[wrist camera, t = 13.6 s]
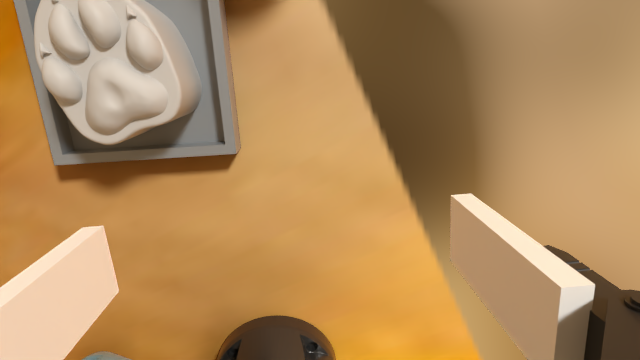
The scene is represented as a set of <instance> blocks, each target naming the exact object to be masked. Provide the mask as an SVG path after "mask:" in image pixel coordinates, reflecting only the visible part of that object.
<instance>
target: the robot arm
mask: <svg viewBox="0 0 640 360" xmlns="http://www.w3.org/2000/svg"><path fill="white" fill-rule="evenodd" d="M450 228H451V229H450V261H451V263H452V264H453V265H454V266H455V268H456V269H457V270H458V272H459V273H460V274H461V275H462V277H463V278H464V279H465V281H466V282H467V283H468V284H469V286H470V287H471V288H472V290H473V291H474V292H475V293H476V295H477V296H478V297H479V298H480V300H481V301H482V302H483V304H484V305H485V306H486V307H487V309H488V310H489V311H490V313H491V314H492V315H493V316H494V317H495V319H496V320H497V322H498V323H499V324H500V325H501V327H502V328H503V329H504V330H505V332H506V333H507V334H508V336H509V337H510V338H511V339H512V341H513V342H514V343H515V345H516V346H517V347H518V348H519V349H520V351H521V352H522V353H523V355H524V356H525V357H526V358H527V360H640V291H635V290H621V289H619V288H618V287H616V286H615V285H613V284H612V283H610V282H609V281H607V280H606V279H604V278H603V277H602V276H600V275H599V274H597V273H596V272H594V271H593V270H590V269H589V268H588V267H587V266H585V265H584V264H583V263H579V261H578V260H577V259H575V258H574V257H573V256H571V255H570V254H568V253H566V252H564V251H562V250H559V249H557V248H554V247H552V246H549V245H547V246H542V245H540V244H539V243H538V242H536V241H535V240H533V239H532V238H531V237H529V236H528V235H527V234H525V233H524V232H523V231H521V230H520V229H519V228H517V227H516V226H514V225H513V224H512V223H510V222H509V221H508V220H506V219H505V218H503V217H502V216H501V215H499V214H498V213H497V212H495V211H494V210H493V209H491V208H490V207H488V206H487V205H486V204H484V203H483V202H482V201H480V200H479V199H477V198H476V197H475V196H473V195H472V194H461V195H451V226H450ZM118 292H119V288H118V284H117V280H116V276H115V272H114V268H113V263H112V259H111V255H110V251H109V247H108V243H107V239H106V234H105V230H104V226H94V227H83V228H81V229H80V230H78V231H77V232H76V233H74V234H73V235H72V236H70V237H69V238H68V239H66V240H65V241H63V242H62V243H61V244H59V245H58V246H57V247H55V248H54V249H52V250H51V251H50V252H48V253H47V254H46V255H44V256H43V257H42V258H40V259H39V260H37V261H36V262H35V263H33V264H32V265H31V266H29V267H28V268H26V269H25V270H24V271H22V272H21V273H20V274H18V275H17V276H16V277H14V278H13V279H11V280H10V281H9V282H7V283H6V284H5V285H3V286H2V287H0V360H63V359H64V358H65V357H66V356H67V354H68V353H69V352H70V351H71V350H72V348H73V347H74V346H75V345H76V343H77V342H78V341H79V340H80V338H81V337H82V336H83V335H84V334H85V332H86V331H87V330H88V329H89V327H90V326H91V325H92V324H93V322H94V321H95V320H96V319H97V318H98V316H99V315H100V314H101V313H102V311H103V310H104V309H105V308H106V306H107V305H108V304H109V303H110V302H111V300H112V299H113V298H114V297H115V295H116V294H117V293H118ZM82 360H131V359H128V358H126V357H123V356H120V355H117V354H115V353H112V352H107V351H101V352H96V353H93V354H91V355H88V356H87V357H85V358H83V359H82ZM217 360H336V358H335V353H334V350H333V348H332V346H331V344H330V342H329V341H328V339H327V338H326V337H325V335H324V334H323V333H322V332H321V331H319V330H318V329H317V328H316V327H314V326H313V325H311V324H309V323H307V322H305V321H303V320H300V319H297V318H293V317H287V316H267V317H261V318H258V319H254V320H252V321H249V322H247V323H245V324H243V325H242V326H240V327H238V328H237V329H236V330H235V331H233V332H232V333H231V334H230V335H229V336H228V338H227V339H226V340H225V342H224V343H223V345H222V347H221V349H220V352H219V355H218V358H217Z"/></svg>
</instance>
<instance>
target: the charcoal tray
mask: <svg viewBox="0 0 640 360" xmlns="http://www.w3.org/2000/svg"><path fill="white" fill-rule="evenodd" d="M40 1H41V0H14V4H15V8H16V12H17V16H18V20H19V24H20V28H21V32H22V36H23V40H24V44H25V48H26V52H27V56H28V60H29V64H30V68H31V73H32V77H33V81H34V85H35V89H36V93H37V97H38V101H39V105H40V109H41V113H42V117H43V121H44V125H45V129H46V133H47V137H48V141H49V145H50V149H51V153H52V157H53V161H54V165H68V164H83V163H99V162H115V161H131V160H147V159H162V158H178V157H194V156H210V155H226V154H237V152H238V151H239V150H240V148H241V145H240V136H239V127H238V118H237V110H236V101H235V92H234V83H233V74H232V65H231V56H230V47H229V38H228V29H227V20H226V11H225V3H224V0H145V1H146V2H148V3H150V4H151V5H153V6H154V7H155V8H157V9H158V10H159V11H161V12H162V13H163V14H164V15H166V16H167V17H168V18H169V19H170V20H171V21H172V22H173V23H174V24H175V26H176V27H177V29H178V30H179V32H180V34H181V36H182V37H183V39H184V41H185V43H186V45H187V47H188V49H189V51H190V53H191V56H192V58H193V61H194V63H195V66H196V69H197V71H198V74H199V77H200V81H201V86H202V94H201V99H200V102H199V105H198V106H197V108H196V109H195V110H194V111H193V112H191V113H189V114H187V115H185V116H182V117H180V118H178V119H175V120H173V121H171V122H168V123H166V124H163V125H160V126H156V127H155V128H153V129H151V130H149V131H147V132H145V133H142V134H140V135H137V136H135V137H133V138H130V139H128V140H125V141H123V142H121V143H118V144H114V145H105V144H100V143H97V142H94V141H92V140H90V139H88V138H86V137H85V136H83V135H82V134H81V133H80V132H79V131H78V130H77V129H76V128H75V127H74V125H73V124H72V123H71V121H70V120H69V118H68V117H67V116H66V114H65V112H64V111H63V109H62V108H61V107H60V106H59V104H58V103H57V101H56V99H55V98H54V96H53V95H52V94H51V93H50V92H49V91H48V89H47V88H46V86H45V84H44V82H43V78H42V72H41V70H40V68H39V66H38V63H37V60H36V55H35V44H34V22H35V16H36V12H37V9H38V6H39V4H40Z"/></svg>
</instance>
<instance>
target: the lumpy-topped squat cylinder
mask: <svg viewBox="0 0 640 360" xmlns="http://www.w3.org/2000/svg"><path fill="white" fill-rule="evenodd" d="M34 44H35V55H36V60H37V63H38V66H39V68H40V70H41V72H42V78H43V82H44V84H45V86H46V88H47V89H48V91H49V92H50V93H51V94H52V95H53V96H54V98H55V99H56V101H57V103H58V104H59V106H60V107H61V108H62V109H63V111H64V112H65V114H66V116H67V117H68V118H69V120H70V121H71V123H72V124H73V125H74V127H75V128H76V129H77V130H78V131H79V132H80V133H81V134H82V135H83V136H85V137H86V138H88V139H90V140H92V141H94V142H97V143H100V144H105V145H114V144H118V143H121V142H123V141H125V140H128V139H130V138H133V137H135V136H137V135H140V134H142V133H145V132H147V131H149V130H151V129H153V128H155V127H156V126H160V125H163V124H166V123H168V122H171V121H173V120H175V119H178V118H180V117H182V116H185V115H187V114H189V113H191V112H193V111H194V110H195V109H196V108H197V106H198V105H199V102H200V99H201V94H202V86H201V81H200V77H199V74H198V71H197V69H196V66H195V63H194V61H193V58H192V56H191V53H190V51H189V49H188V47H187V45H186V43H185V41H184V39H183V37H182V36H181V34H180V32H179V30H178V29H177V27H176V26H175V24H174V23H173V22H172V21H171V20H170V19H169V18H168V17H167V16H166V15H164V14H163V13H162V12H161V11H159V10H158V9H157V8H155V7H154V6H153V5H151V4H150V3H148V2H146V1H145V0H41V1H40V4H39V6H38V9H37V12H36V16H35V22H34Z"/></svg>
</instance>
